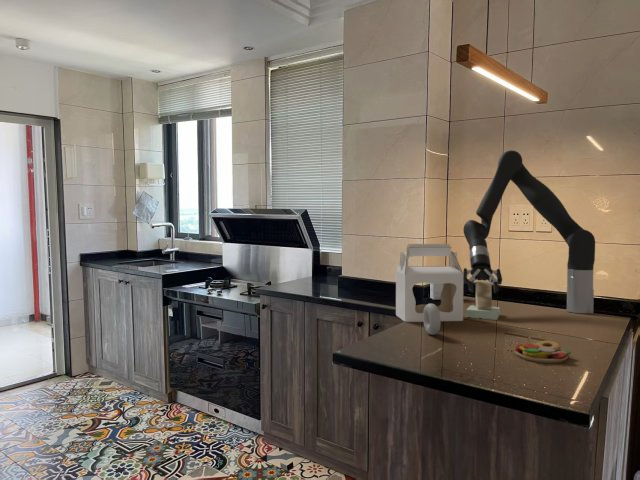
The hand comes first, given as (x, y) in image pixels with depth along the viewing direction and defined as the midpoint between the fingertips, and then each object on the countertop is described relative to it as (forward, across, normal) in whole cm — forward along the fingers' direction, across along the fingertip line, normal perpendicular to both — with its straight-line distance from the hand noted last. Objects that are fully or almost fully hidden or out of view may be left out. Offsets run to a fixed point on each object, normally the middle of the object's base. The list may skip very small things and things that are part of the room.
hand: (483, 291), depth 181 cm
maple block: (+4, 0, +6) cm, 7 cm away
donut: (+31, -21, -17) cm, 42 cm away
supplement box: (-24, -13, +38) cm, 47 cm away
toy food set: (+46, +7, -32) cm, 57 cm away
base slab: (+6, 0, +8) cm, 10 cm away
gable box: (+12, -21, +2) cm, 24 cm away
